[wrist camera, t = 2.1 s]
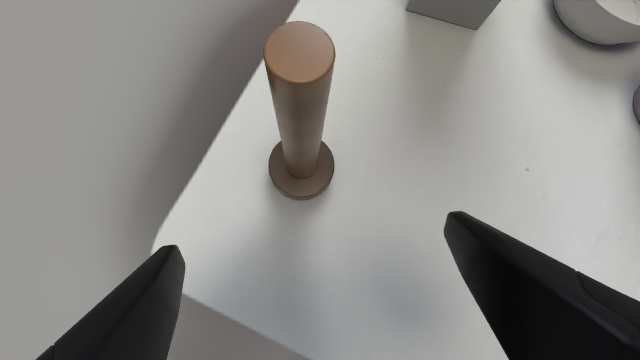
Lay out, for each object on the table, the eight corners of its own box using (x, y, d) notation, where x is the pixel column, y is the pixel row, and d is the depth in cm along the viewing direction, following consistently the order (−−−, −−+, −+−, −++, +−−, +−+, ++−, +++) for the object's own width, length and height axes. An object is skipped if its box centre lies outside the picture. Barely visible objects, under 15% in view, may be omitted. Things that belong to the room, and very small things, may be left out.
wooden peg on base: (324, 206, 22) (361, 141, 8) (263, 191, 22) (196, 102, 8) (338, 148, 23) (390, 5, 9) (279, 133, 23) (245, -30, 9)
